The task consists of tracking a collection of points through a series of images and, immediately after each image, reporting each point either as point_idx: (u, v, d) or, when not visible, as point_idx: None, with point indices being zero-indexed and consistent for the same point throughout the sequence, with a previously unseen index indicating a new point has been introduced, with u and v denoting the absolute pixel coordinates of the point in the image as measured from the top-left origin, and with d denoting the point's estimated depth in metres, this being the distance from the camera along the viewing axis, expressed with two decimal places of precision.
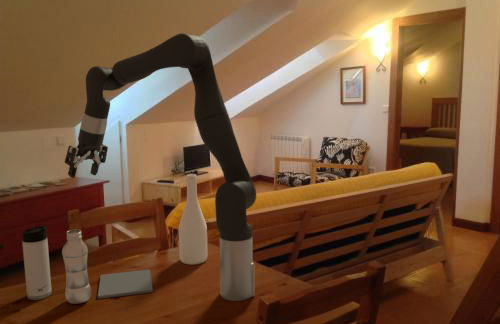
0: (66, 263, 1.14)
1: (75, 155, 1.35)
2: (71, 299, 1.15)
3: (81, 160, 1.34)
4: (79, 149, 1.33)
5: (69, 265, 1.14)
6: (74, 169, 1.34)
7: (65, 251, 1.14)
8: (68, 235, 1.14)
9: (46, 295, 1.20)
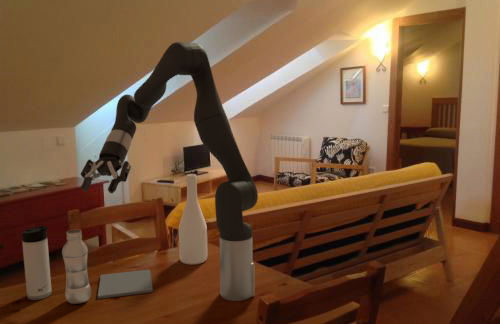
0: (66, 263, 1.14)
1: (96, 173, 1.31)
2: (71, 299, 1.15)
3: (92, 169, 1.28)
4: (95, 162, 1.31)
5: (69, 265, 1.14)
6: (85, 180, 1.27)
7: (65, 251, 1.14)
8: (68, 235, 1.14)
9: (46, 295, 1.20)
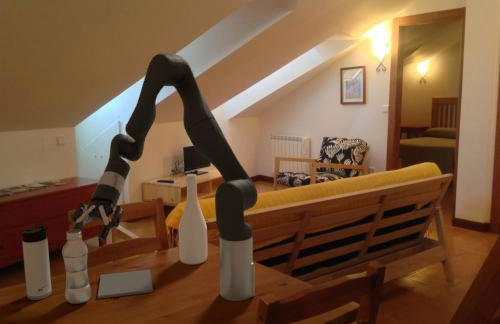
0: (66, 263, 1.14)
1: (88, 217, 1.27)
2: (71, 299, 1.15)
3: (83, 214, 1.25)
4: (87, 206, 1.28)
5: (69, 265, 1.14)
6: None
7: (65, 251, 1.14)
8: (68, 235, 1.14)
9: (46, 295, 1.20)
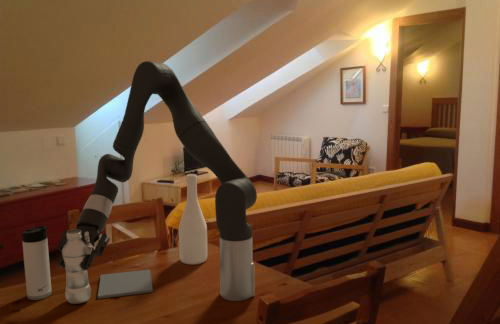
0: (66, 263, 1.14)
1: None
2: (71, 299, 1.15)
3: None
4: None
5: (69, 265, 1.14)
6: None
7: (65, 251, 1.14)
8: (68, 235, 1.14)
9: (46, 295, 1.20)
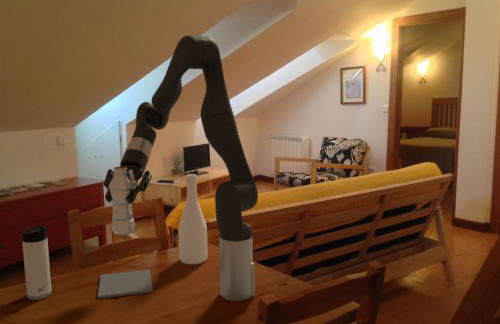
0: (113, 196, 1.22)
1: None
2: (117, 230, 1.23)
3: None
4: None
5: (116, 198, 1.22)
6: (109, 190, 1.25)
7: (112, 185, 1.22)
8: (115, 170, 1.22)
9: (46, 295, 1.20)
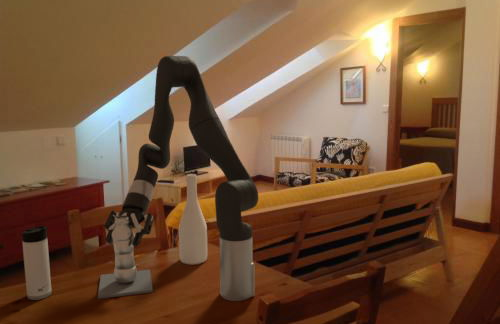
0: (115, 246, 1.25)
1: None
2: (120, 279, 1.26)
3: None
4: (119, 213, 1.32)
5: (118, 248, 1.25)
6: (109, 232, 1.28)
7: (114, 234, 1.24)
8: (117, 220, 1.24)
9: (46, 295, 1.20)
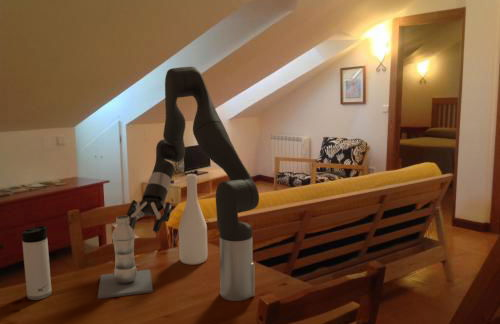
0: (116, 246, 1.25)
1: (140, 213, 1.44)
2: (120, 279, 1.26)
3: (137, 210, 1.41)
4: (139, 202, 1.44)
5: (118, 248, 1.25)
6: (131, 219, 1.40)
7: (115, 234, 1.24)
8: (118, 220, 1.24)
9: (46, 295, 1.20)
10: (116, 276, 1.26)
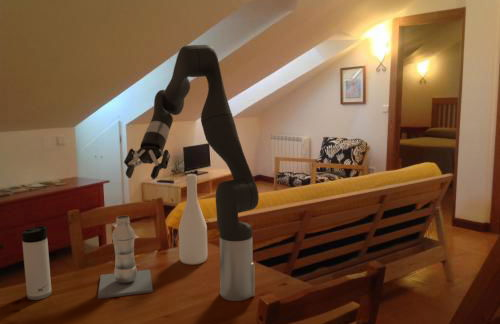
0: (116, 246, 1.25)
1: None
2: (120, 279, 1.26)
3: (135, 157, 1.38)
4: (137, 151, 1.41)
5: (118, 248, 1.25)
6: (129, 167, 1.37)
7: (115, 234, 1.24)
8: (118, 220, 1.24)
9: (46, 295, 1.20)
10: (116, 276, 1.26)
